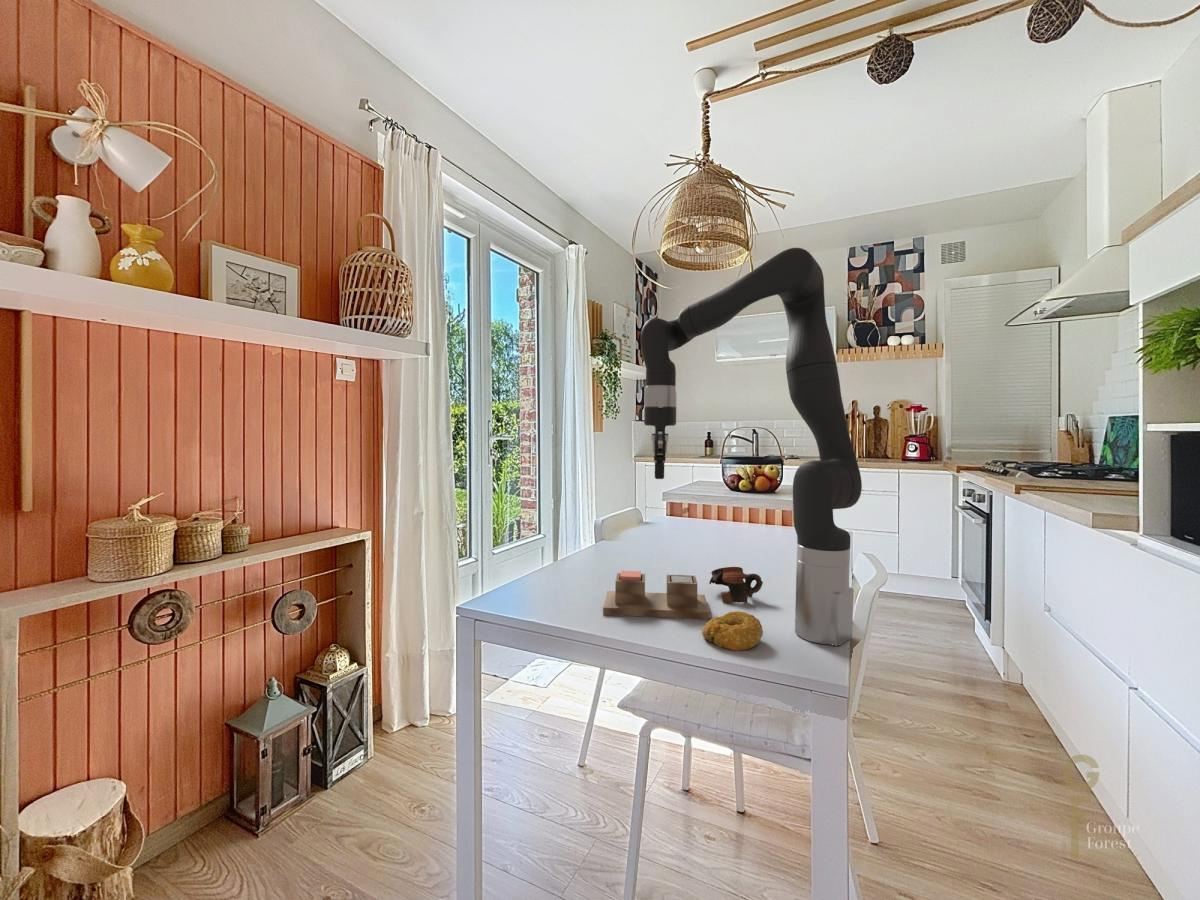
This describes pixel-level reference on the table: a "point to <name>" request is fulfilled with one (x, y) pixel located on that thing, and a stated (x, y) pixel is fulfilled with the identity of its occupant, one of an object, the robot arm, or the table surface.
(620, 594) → the wooden block stand
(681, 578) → the white block
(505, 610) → the table surface
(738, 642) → the bagel
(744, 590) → the pottery mug
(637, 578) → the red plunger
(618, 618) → the table surface
